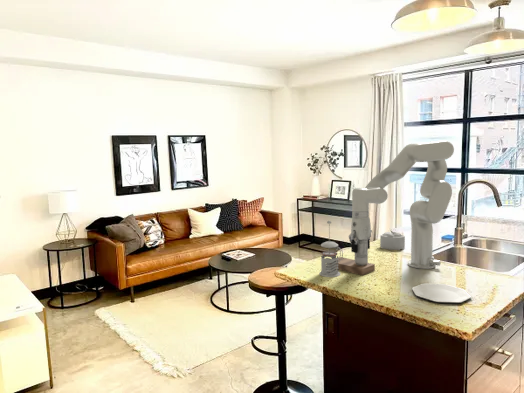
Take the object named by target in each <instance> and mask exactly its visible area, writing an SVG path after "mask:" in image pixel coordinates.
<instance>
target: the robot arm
mask: <svg viewBox="0 0 524 393" xmlns="http://www.w3.org/2000/svg"><path fill="white" fill-rule="evenodd" d="M454 151H455V148H454V145H453V144H452V143H451V142H450V141H448V140H436V141H435V140H433V141H429V142H419V143H409V144H407V145H405V146H404V147H403V148H402V149H401V150H400V152H399V153H398V154H397V155H396V157H395V158H393V160H392V161H391V162H390V163H389V164H388V166H386V167H385V168H383V169H382V170H381V171H380V172H378V173H377V174H376V175H375V176H374V177H373V178H371V180H370V181H369V182H368V183H367V185H366V186H365V187H356V188H353V189H352V191H351V199H352V201H351V208H352V209H351V210H352V212H351V214H352V215H351V216H352V217H351V228H350V234H349V235H348V239H349V242H350V244H351V246H350V248H351V251H350V252H351V253H354V254H355V253H358V244H357V242H358V240H363V239H365V236H367V237H368V250H370V249H371V245H370V244H371V243H370V242H371V237H372V233H373V231H372V226H371V219H370V204H376V205H380V204H383V203H385V202H386V201H387V200H388V197H389V196H388V195H389V194H388V192H387V191H386V189H385V187H387V186H388V185H390V184H392V183H394V182H396V181H400V180H401V179H403V178H404V177H405V176H406V175H407V173H408V172H409V171H410V170H411V169H412V168H413V166H415V164H416V163H427V170H426V174H424V175H425V176H424V179H423V181H422V184H421V186H420V190H419V191H420V195H421V196H422V197H423V198H425V199H427V200H421V199H420V200H415V201H414V202H413V203H411V205H410V207H409V217H410V224H411V228H410V230H411V234H410V236H411V238H410V239H411V240H410V241H411V242H410V260H408V261H407V265H408V266H409V267H411V268H415V269H422V270H424V269H425V270H429V269H434V268H436V266H439V267H440V266H441V260H437V259H436V258H435V256H433V248H434V247H433V242H434V241H433V240H434V238H433V237H434V236H433V234H434V227H433V224H434V225H435V224H438V223H439V222H441V221H442V219H444V216H445V214H446V212H447V209H448V207H449V204H450V201H451V199H452V196H453V189H452V185H451V184H450V183H449V182H448V181H445V179H446V176H447V172H448V164H447V161H446V160H448V159H450V158H451V157H452V156H453V155H454V153H455V152H454ZM355 237H356V238H355ZM355 240H356V241H355Z"/></svg>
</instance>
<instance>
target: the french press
mask: <svg viewBox="0 0 524 393" xmlns="http://www.w3.org/2000/svg"><path fill="white" fill-rule="evenodd" d="M326 224H328V232H329V233H328V236H329V237H328V241H325V242H322V243H321V244H320V246H321V247H322V248H324V249H325V248H326V249H329V250H328V251H327V250H326V251H323V252H321V257H320V258H321V260H320V261H321V264H320V265H321V271H319V275H320V276H322V277H325V278H337V277H339V276H341V273H340V271H339V269H338V263H339V262H340V261H341V260H342V258H341V260H340V261H339V262H338V260H339V259H340V257H343V255H344V254H343V249H342V248H341V247H339V244H338V243H336V242H335V241H331V238H330V237H331V235H330V234H331V232H330V229H331V228H330V224H332V221H331V220H328V221H327V220H326ZM330 249H335V250H336V251H338V250H339V254H340V255H338V252H336V251H331V250H330ZM338 257H339V259H338ZM343 258H344V257H343ZM336 260H337V261H336ZM329 263H332V264H329ZM336 263H337V265H336ZM331 266H332V267H331ZM336 266H337V267H336Z"/></svg>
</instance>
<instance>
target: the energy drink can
mask: <svg viewBox="0 0 524 393" xmlns="http://www.w3.org/2000/svg"><path fill="white" fill-rule="evenodd" d="M355 238H356V237H355ZM355 241H356V240H355ZM357 244H358V253H354V260H355V263H356V264H357V265H366V264H367V263H369V260H368V259H369V258H368V257H369V249H368V237H367V236H365V239H363V240H358V242H357Z"/></svg>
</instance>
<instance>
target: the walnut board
mask: <svg viewBox="0 0 524 393" xmlns="http://www.w3.org/2000/svg"><path fill="white" fill-rule="evenodd" d="M339 257H340V259H339ZM341 258H342V260H341ZM338 259H339V260H338V262H339V261H340V260H341V261H340V262H339V263H338V271H343V272H347V273H352V274H356V275H360V276H364V275H367V274H369V273H372V272H374V271H375V269H376V266H375V264H374V263H371V262H368V263H367V264H366V265H357V264H356V263H355V259H352V258H348V257H342V256H338ZM336 261H337V260H336ZM329 264H332V263H329ZM336 265H337V263H336ZM331 267H332V266H331ZM336 267H337V266H336Z"/></svg>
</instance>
